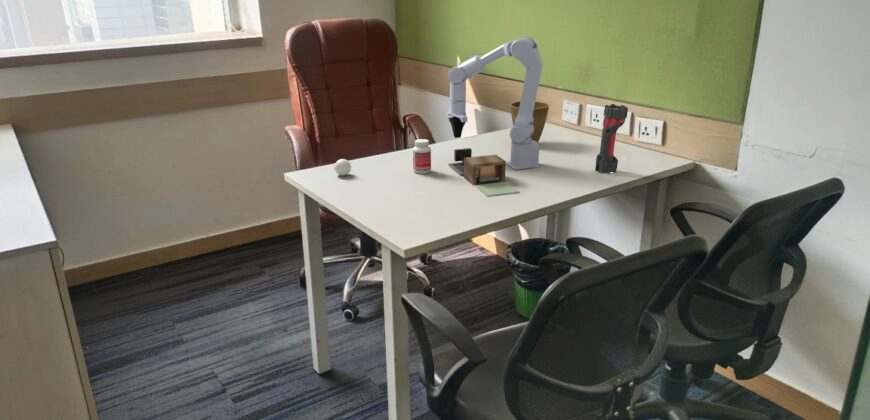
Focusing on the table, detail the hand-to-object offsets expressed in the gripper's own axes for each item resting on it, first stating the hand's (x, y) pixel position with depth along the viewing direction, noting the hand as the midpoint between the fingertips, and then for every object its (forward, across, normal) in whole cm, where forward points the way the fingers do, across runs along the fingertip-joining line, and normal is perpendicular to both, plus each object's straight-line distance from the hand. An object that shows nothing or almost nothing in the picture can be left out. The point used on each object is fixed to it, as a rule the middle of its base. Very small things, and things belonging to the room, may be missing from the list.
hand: (457, 137), depth 235 cm
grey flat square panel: (+8, +14, 0) cm, 16 cm away
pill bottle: (+8, +11, -17) cm, 22 cm away
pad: (+8, +37, 0) cm, 37 cm away
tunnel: (+8, +26, 0) cm, 27 cm away
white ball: (+8, +5, -44) cm, 45 cm away
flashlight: (+8, +32, +44) cm, 55 cm away
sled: (+7, +18, 0) cm, 19 cm away
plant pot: (+8, -9, +33) cm, 35 cm away
